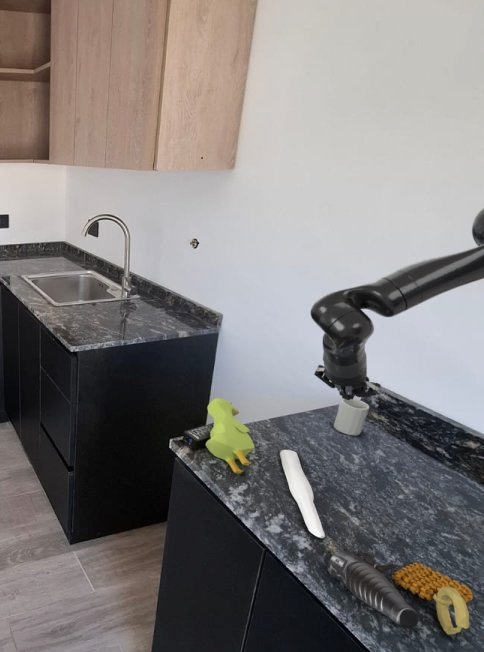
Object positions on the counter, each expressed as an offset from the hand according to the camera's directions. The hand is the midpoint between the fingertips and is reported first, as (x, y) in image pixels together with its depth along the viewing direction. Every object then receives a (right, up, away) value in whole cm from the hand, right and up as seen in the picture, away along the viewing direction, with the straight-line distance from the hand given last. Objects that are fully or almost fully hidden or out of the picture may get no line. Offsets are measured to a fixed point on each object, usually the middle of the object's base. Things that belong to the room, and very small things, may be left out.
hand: (347, 396), depth 111 cm
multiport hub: (-32, -11, +4) cm, 34 cm away
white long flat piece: (-18, -18, -12) cm, 28 cm away
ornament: (-8, -24, -30) cm, 40 cm away
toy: (-27, -15, -9) cm, 32 cm away
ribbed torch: (-16, -26, -35) cm, 46 cm away
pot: (+7, -10, +11) cm, 17 cm away
